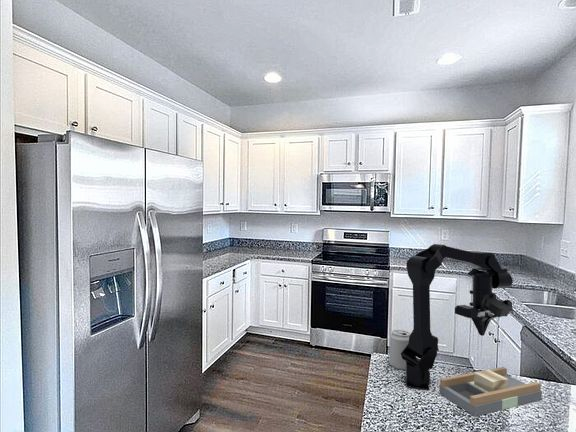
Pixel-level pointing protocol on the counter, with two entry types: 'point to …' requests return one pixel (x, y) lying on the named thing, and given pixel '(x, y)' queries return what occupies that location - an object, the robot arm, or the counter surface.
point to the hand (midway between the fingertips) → (481, 335)
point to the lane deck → (488, 393)
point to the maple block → (490, 381)
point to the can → (398, 348)
